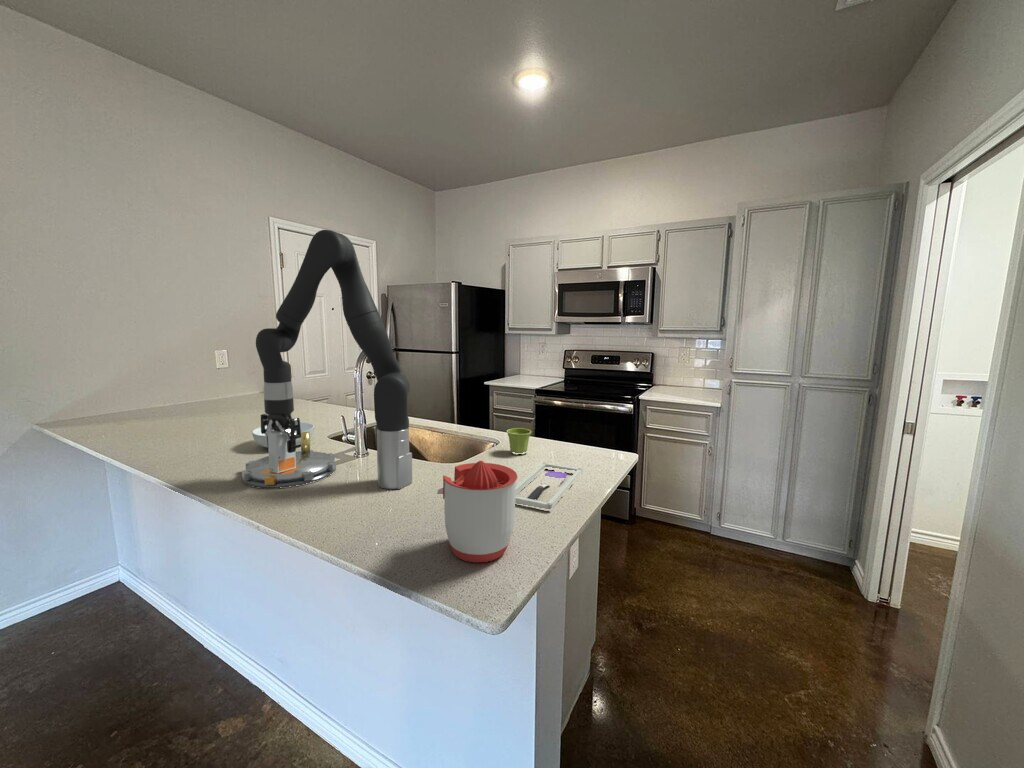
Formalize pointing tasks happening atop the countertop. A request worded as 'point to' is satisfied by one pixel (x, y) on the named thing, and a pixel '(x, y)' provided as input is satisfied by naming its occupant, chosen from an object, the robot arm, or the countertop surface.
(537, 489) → the spatula
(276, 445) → the skincare box
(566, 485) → the utensil tray
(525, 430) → the plant pot
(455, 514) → the citrus juicer
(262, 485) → the plate
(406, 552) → the countertop surface
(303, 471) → the sprocket
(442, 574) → the countertop surface
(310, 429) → the serving bowl
